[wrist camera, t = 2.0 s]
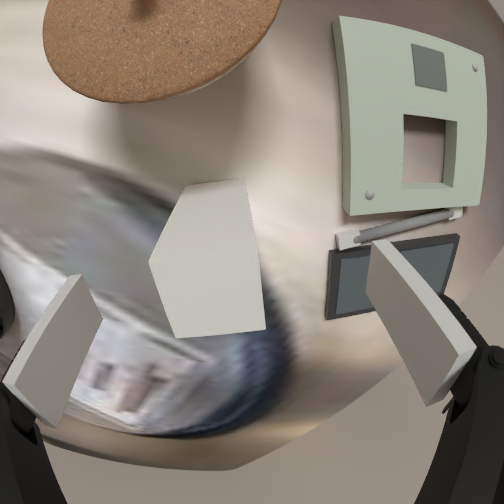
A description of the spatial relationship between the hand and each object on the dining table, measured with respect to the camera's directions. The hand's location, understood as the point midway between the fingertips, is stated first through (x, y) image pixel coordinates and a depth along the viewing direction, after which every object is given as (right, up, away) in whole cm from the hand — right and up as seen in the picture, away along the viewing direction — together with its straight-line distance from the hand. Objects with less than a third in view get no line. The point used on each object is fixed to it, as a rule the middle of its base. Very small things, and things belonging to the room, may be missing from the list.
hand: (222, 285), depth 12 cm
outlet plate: (+14, +12, +5) cm, 19 cm away
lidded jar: (-3, +16, +2) cm, 16 cm away
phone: (+15, 0, +12) cm, 19 cm away
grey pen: (+14, +4, +9) cm, 17 cm away
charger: (-1, +4, +8) cm, 9 cm away
